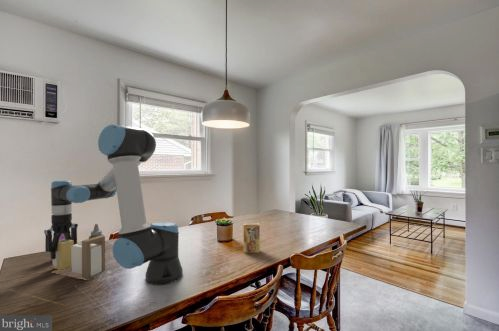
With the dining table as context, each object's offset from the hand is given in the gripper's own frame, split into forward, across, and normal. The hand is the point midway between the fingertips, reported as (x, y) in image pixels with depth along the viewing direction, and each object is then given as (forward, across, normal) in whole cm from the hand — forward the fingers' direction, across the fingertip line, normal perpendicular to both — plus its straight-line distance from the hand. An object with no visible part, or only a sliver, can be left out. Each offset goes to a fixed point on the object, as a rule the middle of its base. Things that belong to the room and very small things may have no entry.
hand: (62, 262), depth 113 cm
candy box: (+3, -49, +77) cm, 92 cm away
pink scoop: (+2, -9, -11) cm, 14 cm away
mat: (+2, 0, +12) cm, 12 cm away
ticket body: (+2, 0, +16) cm, 16 cm away
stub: (+2, 0, +1) cm, 2 cm away
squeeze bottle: (+2, -13, +6) cm, 14 cm away
